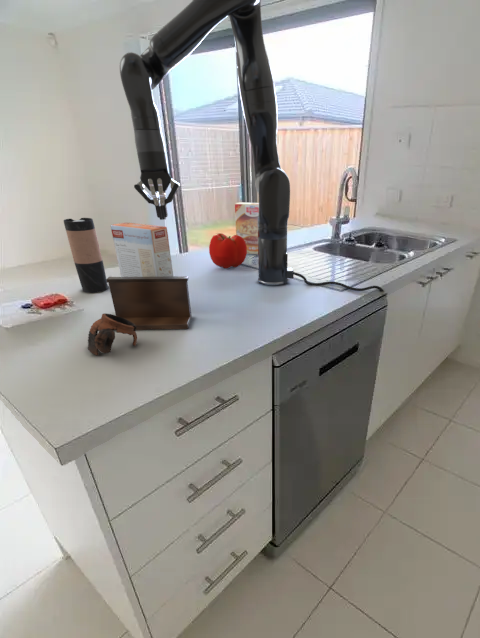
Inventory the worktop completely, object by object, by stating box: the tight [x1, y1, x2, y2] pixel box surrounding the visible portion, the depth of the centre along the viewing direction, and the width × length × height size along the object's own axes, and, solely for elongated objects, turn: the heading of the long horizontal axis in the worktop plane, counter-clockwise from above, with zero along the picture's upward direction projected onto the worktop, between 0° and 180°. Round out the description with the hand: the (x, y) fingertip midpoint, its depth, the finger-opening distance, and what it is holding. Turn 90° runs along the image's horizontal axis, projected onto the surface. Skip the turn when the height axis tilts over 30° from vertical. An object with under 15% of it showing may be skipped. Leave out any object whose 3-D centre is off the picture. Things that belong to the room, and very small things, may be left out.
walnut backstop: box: [106, 275, 193, 331], centre depth 88 cm, size 19×7×11 cm, turn 94°
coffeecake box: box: [234, 201, 259, 256], centre depth 154 cm, size 15×7×20 cm, turn 81°
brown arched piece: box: [87, 313, 138, 356], centre depth 78 cm, size 12×10×8 cm
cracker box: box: [110, 222, 174, 277], centre depth 97 cm, size 14×6×21 cm, turn 61°
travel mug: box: [63, 217, 109, 294], centre depth 109 cm, size 8×8×20 cm
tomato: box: [208, 232, 248, 270], centre depth 136 cm, size 13×14×12 cm
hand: (163, 219), depth 109 cm, fingers closed
